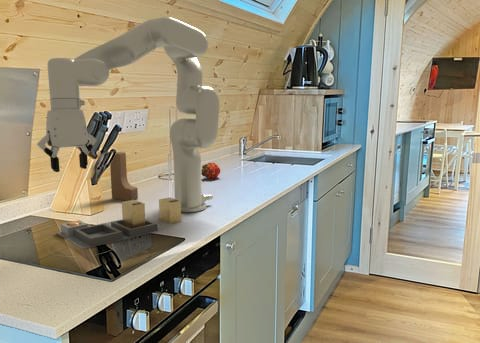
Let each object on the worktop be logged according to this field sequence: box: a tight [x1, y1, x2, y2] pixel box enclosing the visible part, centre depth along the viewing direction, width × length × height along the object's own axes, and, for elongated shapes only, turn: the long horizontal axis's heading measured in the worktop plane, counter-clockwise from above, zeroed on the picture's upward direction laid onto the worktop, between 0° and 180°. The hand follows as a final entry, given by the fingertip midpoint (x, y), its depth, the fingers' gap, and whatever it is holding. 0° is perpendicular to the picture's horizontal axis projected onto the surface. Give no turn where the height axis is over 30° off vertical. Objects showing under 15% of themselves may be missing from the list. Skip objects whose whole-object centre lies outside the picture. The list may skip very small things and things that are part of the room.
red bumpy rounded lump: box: [201, 162, 221, 180], centre depth 216 cm, size 8×8×12 cm
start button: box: [69, 221, 79, 226], centre depth 130 cm, size 3×3×2 cm
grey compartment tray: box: [56, 218, 163, 250], centre depth 131 cm, size 24×18×4 cm
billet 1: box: [121, 199, 146, 229], centre depth 132 cm, size 4×6×8 cm, turn 42°
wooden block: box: [109, 151, 139, 201], centre depth 175 cm, size 9×4×18 cm, turn 70°
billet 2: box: [158, 197, 182, 225], centre depth 141 cm, size 4×6×8 cm, turn 42°
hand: (70, 169), depth 127 cm, fingers open, 7 cm apart
